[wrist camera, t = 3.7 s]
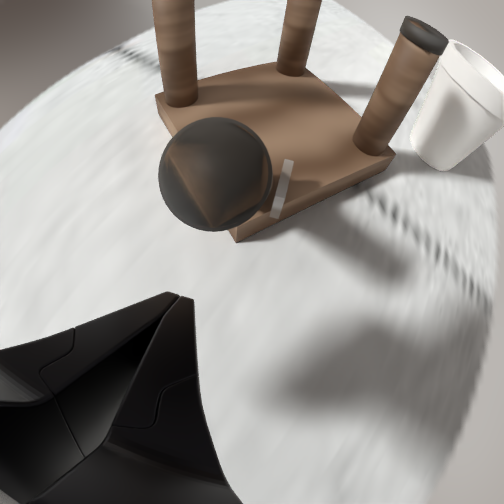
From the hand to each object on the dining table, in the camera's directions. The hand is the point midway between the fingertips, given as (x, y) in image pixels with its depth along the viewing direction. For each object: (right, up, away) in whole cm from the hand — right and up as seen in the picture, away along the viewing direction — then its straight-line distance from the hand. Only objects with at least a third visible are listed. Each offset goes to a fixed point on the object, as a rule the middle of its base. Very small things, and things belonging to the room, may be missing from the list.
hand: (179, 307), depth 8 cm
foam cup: (+23, +13, +19) cm, 33 cm away
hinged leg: (+2, +6, +10) cm, 12 cm away
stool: (+4, +12, +17) cm, 21 cm away
